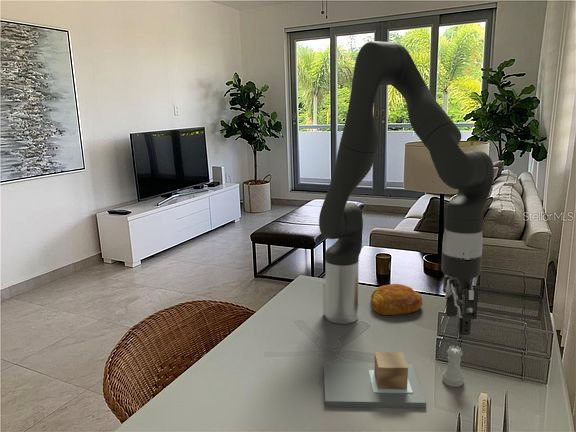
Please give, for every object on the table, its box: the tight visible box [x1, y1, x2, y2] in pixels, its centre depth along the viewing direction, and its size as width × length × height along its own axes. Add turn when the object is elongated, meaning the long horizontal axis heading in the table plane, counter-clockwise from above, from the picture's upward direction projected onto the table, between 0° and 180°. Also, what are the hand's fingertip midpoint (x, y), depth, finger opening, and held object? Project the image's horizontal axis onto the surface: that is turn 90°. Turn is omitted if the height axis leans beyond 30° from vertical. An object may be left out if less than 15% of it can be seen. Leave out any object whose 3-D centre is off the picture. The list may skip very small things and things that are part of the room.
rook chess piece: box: [442, 345, 465, 388], centre depth 97 cm, size 4×4×8 cm
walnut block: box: [373, 351, 408, 389], centre depth 96 cm, size 6×6×5 cm
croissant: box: [370, 283, 423, 316], centre depth 135 cm, size 14×16×8 cm
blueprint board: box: [323, 362, 427, 409], centre depth 97 cm, size 20×14×1 cm
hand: (457, 324), depth 94 cm, fingers open, 8 cm apart
